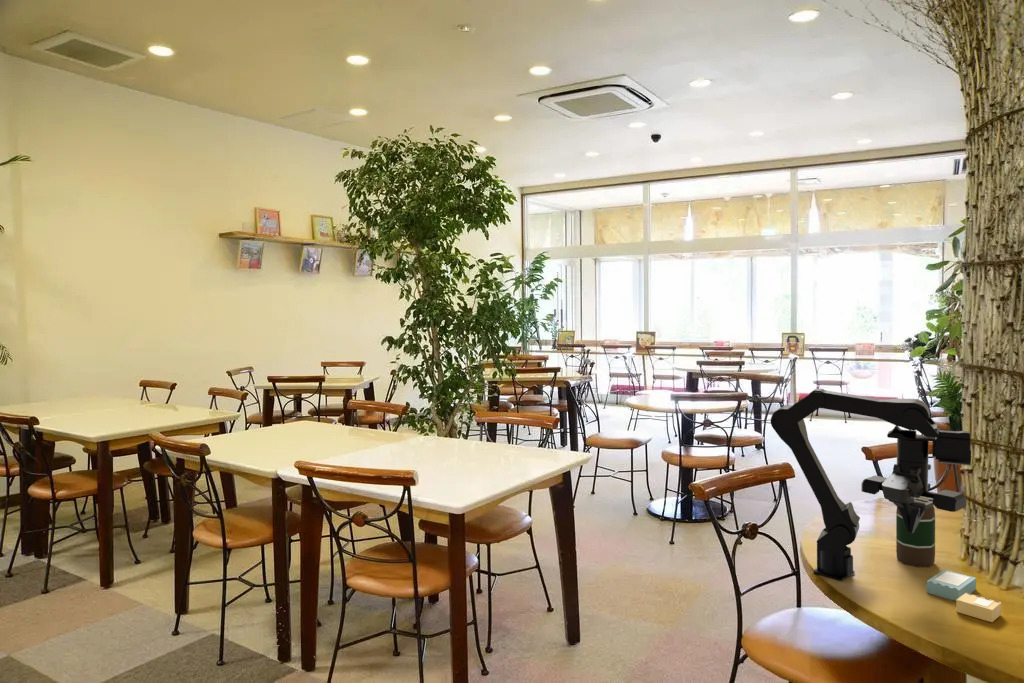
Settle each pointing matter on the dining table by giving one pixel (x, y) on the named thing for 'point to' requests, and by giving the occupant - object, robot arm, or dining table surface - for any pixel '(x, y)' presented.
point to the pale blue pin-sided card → (951, 585)
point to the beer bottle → (916, 540)
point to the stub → (978, 607)
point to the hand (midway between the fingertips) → (910, 532)
